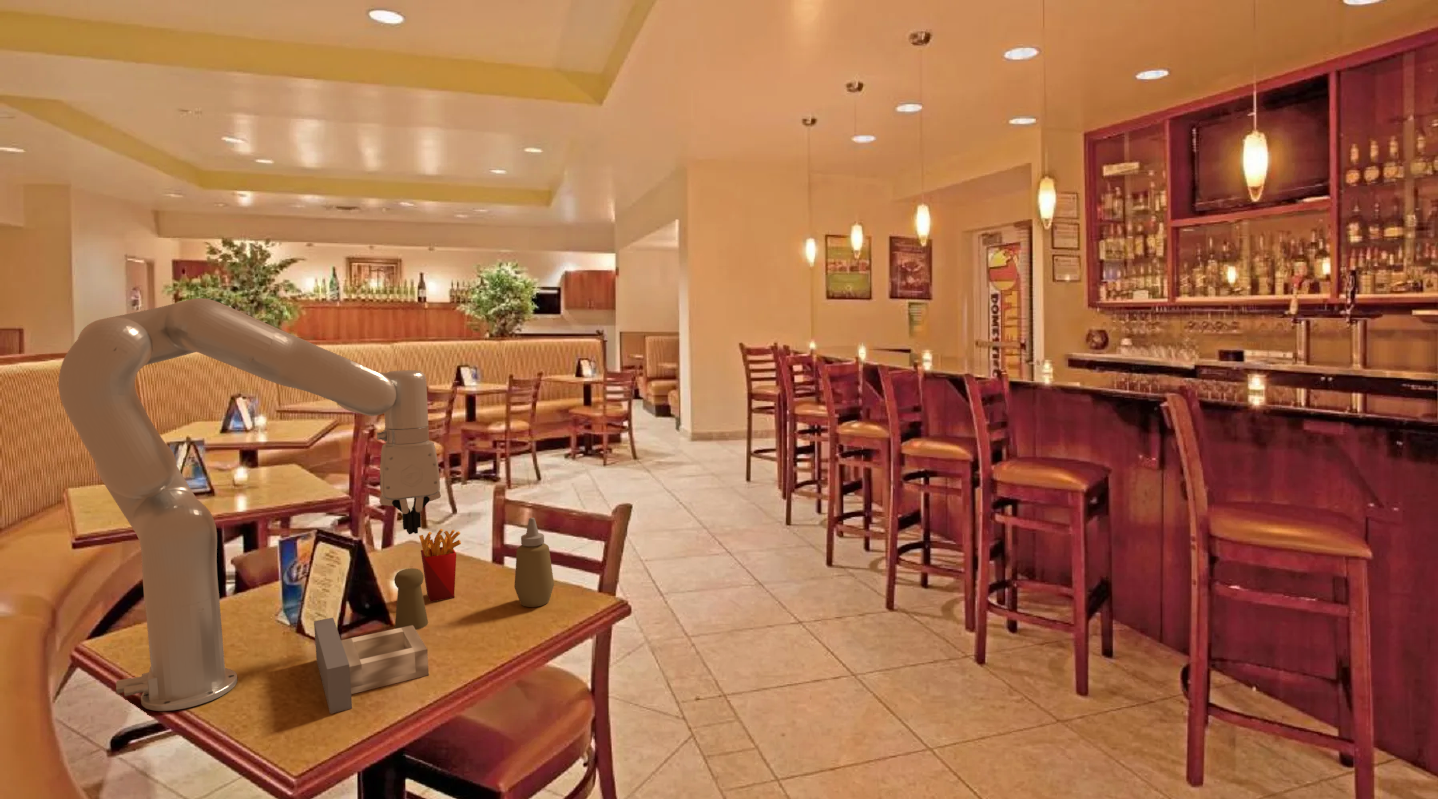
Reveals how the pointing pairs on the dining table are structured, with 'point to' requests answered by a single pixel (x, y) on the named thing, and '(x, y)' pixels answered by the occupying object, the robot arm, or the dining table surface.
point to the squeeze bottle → (533, 568)
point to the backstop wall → (332, 665)
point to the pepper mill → (410, 599)
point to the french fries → (439, 565)
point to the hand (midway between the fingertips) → (412, 532)
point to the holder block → (385, 658)
